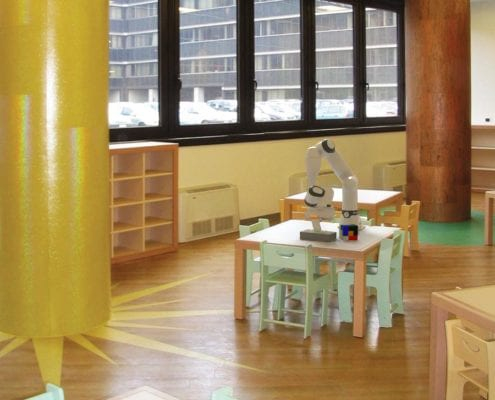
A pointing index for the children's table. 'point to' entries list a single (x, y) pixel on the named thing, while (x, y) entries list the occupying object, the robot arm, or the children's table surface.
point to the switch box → (318, 235)
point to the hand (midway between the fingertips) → (316, 223)
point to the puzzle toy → (348, 232)
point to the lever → (315, 222)
